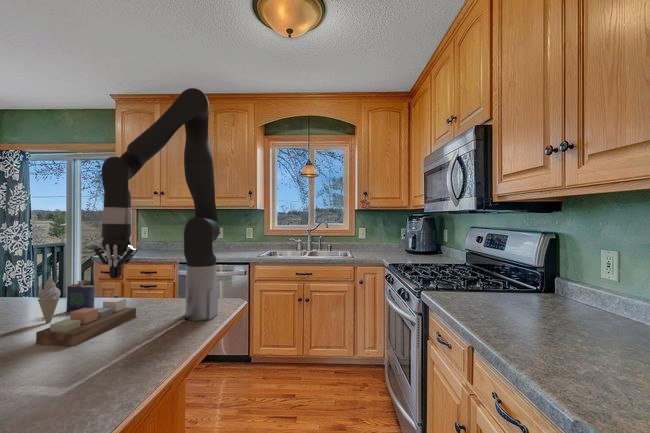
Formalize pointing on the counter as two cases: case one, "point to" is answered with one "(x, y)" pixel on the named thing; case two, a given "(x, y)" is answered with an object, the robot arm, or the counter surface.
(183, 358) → the counter surface
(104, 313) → the slate key
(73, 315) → the terracotta key
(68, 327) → the sage key
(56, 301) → the ice cream cone
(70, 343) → the brown wooden tray
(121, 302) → the ivory key
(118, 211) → the robot arm
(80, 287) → the flask
